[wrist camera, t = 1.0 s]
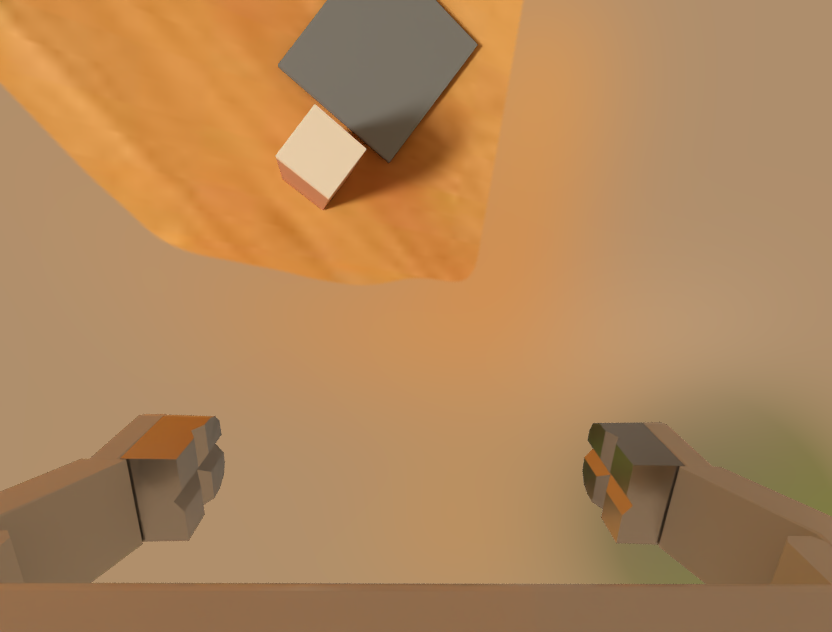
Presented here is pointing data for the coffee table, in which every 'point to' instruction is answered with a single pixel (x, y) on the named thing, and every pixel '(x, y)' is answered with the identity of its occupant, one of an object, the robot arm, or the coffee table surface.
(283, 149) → the tall block
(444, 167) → the coffee table surface
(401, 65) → the slate mat
